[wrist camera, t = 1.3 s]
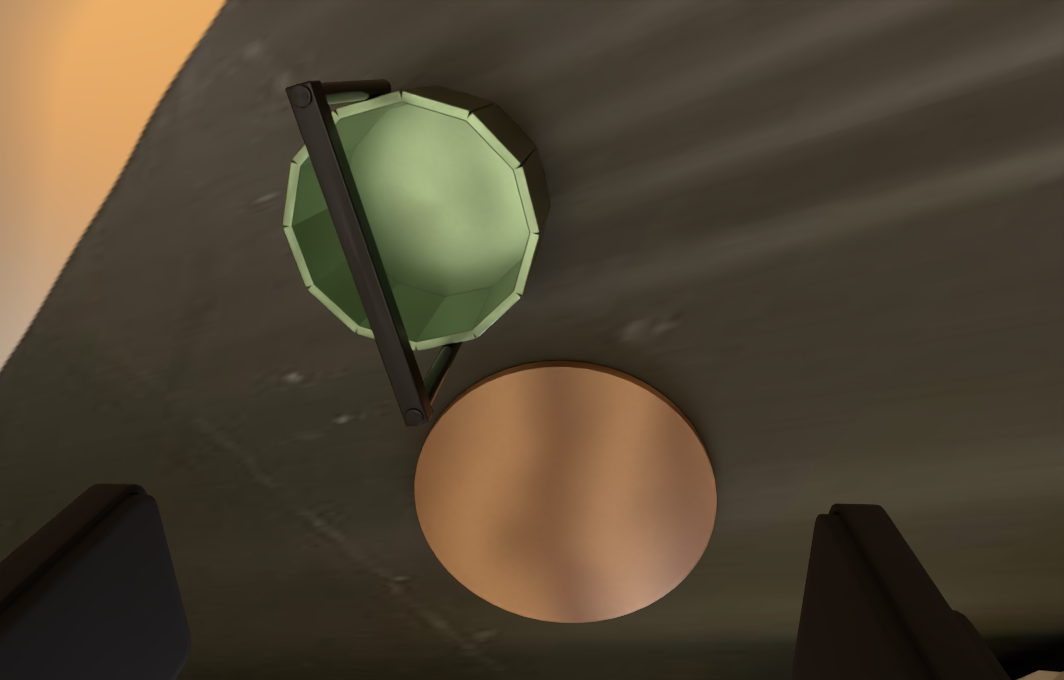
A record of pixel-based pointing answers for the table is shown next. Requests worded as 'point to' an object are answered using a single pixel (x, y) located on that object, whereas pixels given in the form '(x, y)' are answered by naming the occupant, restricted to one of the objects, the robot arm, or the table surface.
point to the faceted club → (1044, 676)
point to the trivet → (565, 492)
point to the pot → (412, 219)
